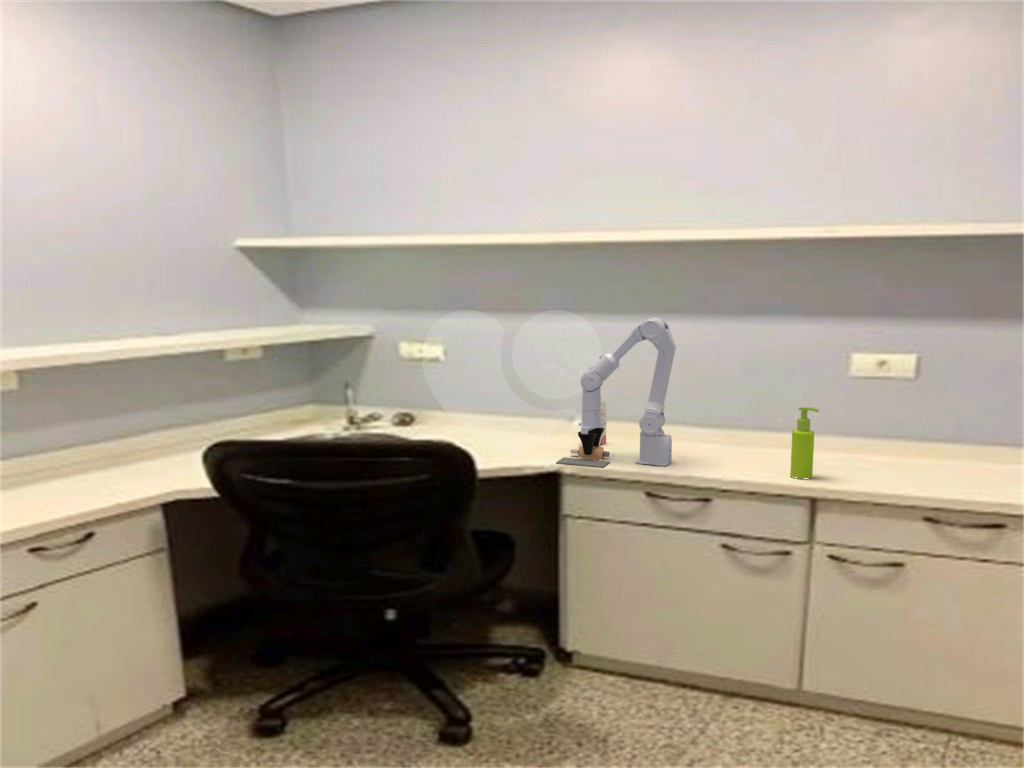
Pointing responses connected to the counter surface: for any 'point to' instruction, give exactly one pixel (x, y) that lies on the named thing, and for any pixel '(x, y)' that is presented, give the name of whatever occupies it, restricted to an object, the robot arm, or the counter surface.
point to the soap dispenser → (802, 446)
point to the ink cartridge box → (602, 422)
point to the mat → (583, 462)
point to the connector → (596, 453)
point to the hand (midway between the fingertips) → (590, 452)
